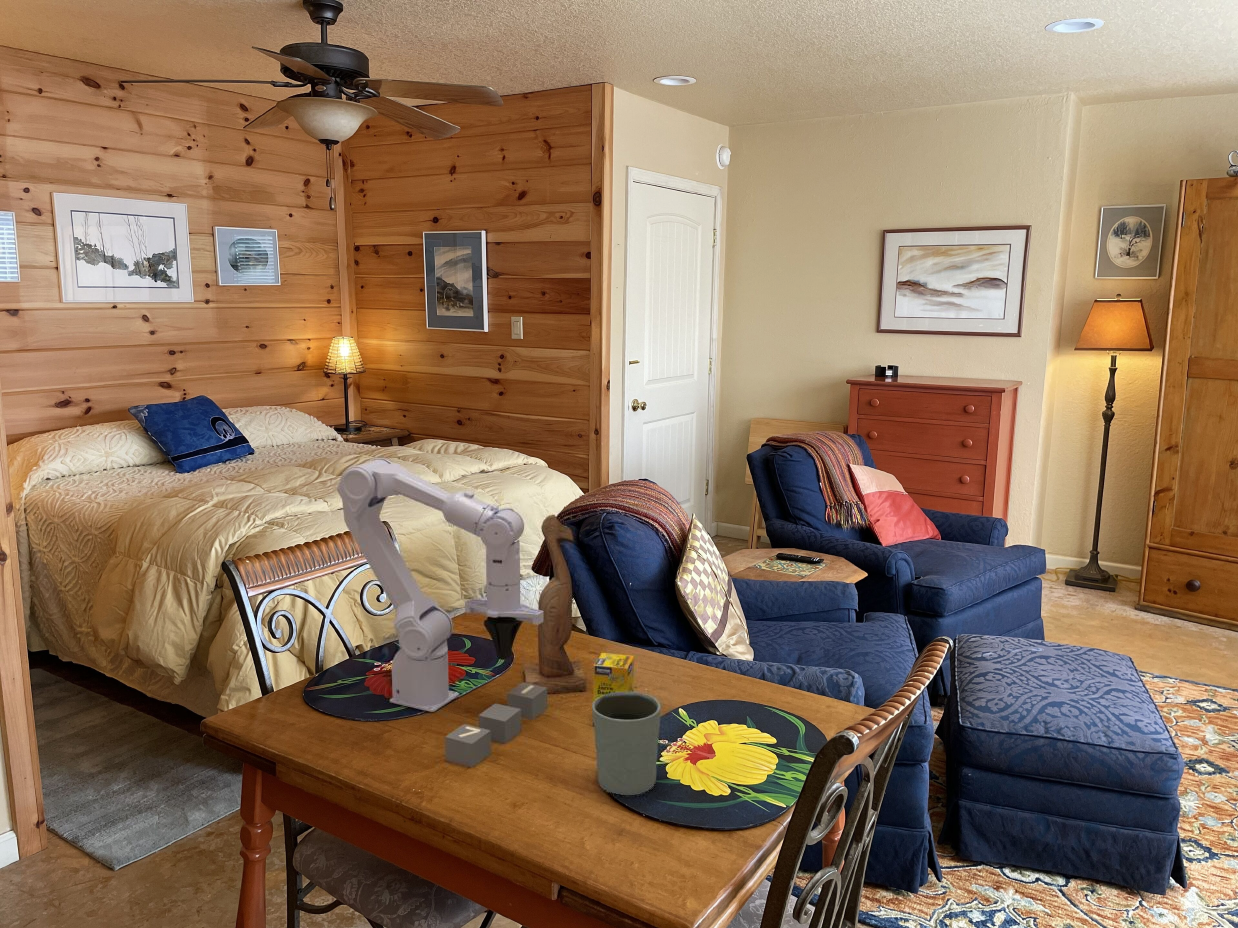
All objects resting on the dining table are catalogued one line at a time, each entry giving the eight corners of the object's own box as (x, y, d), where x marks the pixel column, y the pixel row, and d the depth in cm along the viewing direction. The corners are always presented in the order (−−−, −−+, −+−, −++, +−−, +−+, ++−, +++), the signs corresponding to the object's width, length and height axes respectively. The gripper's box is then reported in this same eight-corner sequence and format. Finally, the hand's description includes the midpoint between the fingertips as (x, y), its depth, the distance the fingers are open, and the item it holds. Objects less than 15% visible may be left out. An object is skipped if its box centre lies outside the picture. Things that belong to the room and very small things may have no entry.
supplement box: (627, 730, 152) (628, 668, 150) (592, 727, 153) (592, 665, 151) (634, 715, 157) (634, 654, 156) (599, 711, 159) (600, 651, 157)
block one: (507, 714, 158) (507, 691, 157) (523, 703, 162) (522, 681, 161) (532, 720, 155) (532, 697, 155) (547, 709, 160) (547, 686, 159)
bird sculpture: (590, 693, 167) (596, 521, 162) (526, 696, 164) (530, 522, 159) (578, 670, 178) (584, 508, 173) (518, 673, 175) (522, 509, 170)
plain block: (478, 738, 149) (478, 715, 148) (495, 725, 153) (495, 703, 153) (505, 744, 147) (505, 721, 146) (521, 731, 151) (521, 708, 151)
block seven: (445, 760, 141) (444, 735, 141) (464, 747, 146) (464, 722, 145) (472, 768, 139) (471, 742, 138) (491, 754, 144) (490, 729, 143)
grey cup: (637, 806, 129) (638, 726, 127) (577, 785, 134) (578, 708, 132) (671, 775, 137) (673, 700, 135) (614, 757, 143) (615, 684, 141)
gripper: (453, 581, 155) (455, 658, 157) (528, 593, 149) (528, 673, 151) (477, 571, 161) (478, 644, 164) (549, 582, 155) (549, 658, 158)
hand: (504, 657), depth 158 cm, fingers closed
